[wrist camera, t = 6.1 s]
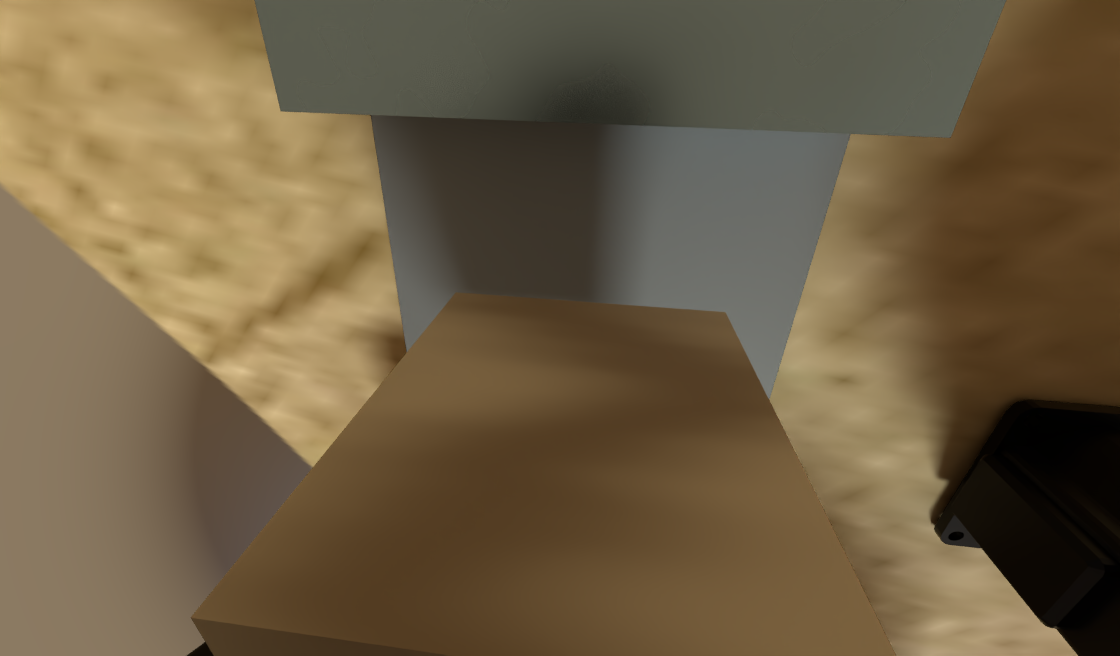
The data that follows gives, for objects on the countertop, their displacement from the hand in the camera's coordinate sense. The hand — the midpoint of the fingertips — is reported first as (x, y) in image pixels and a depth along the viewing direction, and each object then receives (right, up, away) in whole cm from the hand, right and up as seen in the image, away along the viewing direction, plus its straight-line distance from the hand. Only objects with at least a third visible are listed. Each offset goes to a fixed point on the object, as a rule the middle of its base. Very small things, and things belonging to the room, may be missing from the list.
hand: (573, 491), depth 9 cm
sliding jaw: (+1, +13, 0) cm, 13 cm away
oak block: (0, +1, +1) cm, 1 cm away
